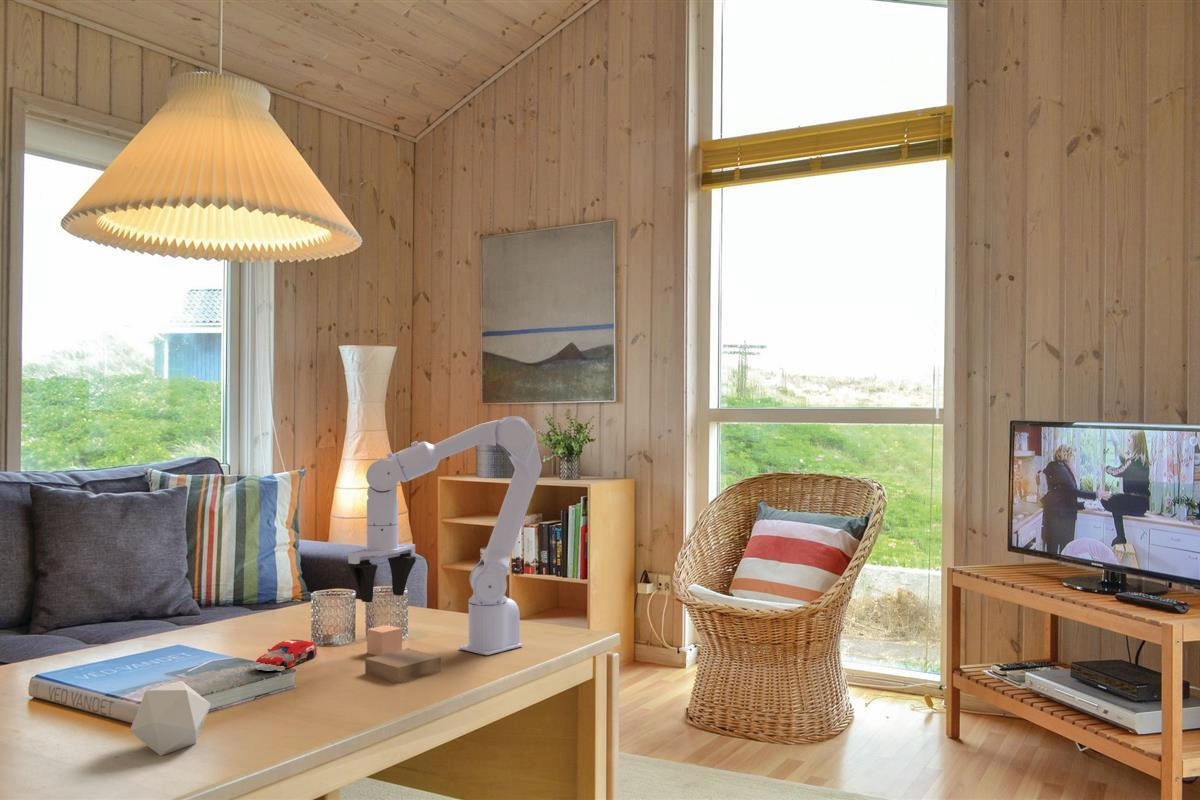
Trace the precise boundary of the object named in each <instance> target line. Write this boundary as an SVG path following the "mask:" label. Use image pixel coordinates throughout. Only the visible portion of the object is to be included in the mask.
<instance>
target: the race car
mask: <svg viewBox="0 0 1200 800" xmlns="http://www.w3.org/2000/svg"><path fill="white" fill-rule="evenodd" d="M317 650H318V649H317V644H316V643H315V641H309V640H303V639H287V640H283V641H281V642H278V643H277V644H275V645H274V646H273V647H272V648H267V652H266V653H264V654H263V655H260V656H259V657H258V658H257V659H256V661H255V662H260V663H265V664H271V665H276V666H284V667H289V668H292V667H294V666H297V665H299V664H302V663H304V662H306V661H307V662H309V661H312V660H314V658H315V657H316V656H317V654H318V652H317Z"/></svg>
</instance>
